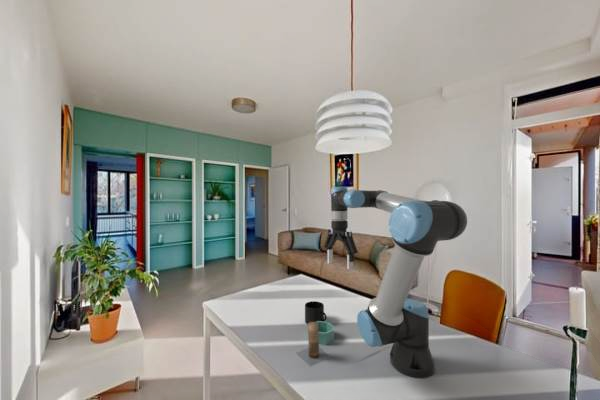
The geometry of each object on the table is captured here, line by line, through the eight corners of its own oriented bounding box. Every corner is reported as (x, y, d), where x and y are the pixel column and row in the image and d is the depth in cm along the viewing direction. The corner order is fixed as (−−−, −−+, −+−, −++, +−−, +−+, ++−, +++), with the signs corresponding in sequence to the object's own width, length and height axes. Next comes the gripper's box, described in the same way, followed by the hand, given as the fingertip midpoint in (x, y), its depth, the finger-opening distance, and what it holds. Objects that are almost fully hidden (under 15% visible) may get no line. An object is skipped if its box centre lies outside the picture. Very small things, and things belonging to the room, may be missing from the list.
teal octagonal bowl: (338, 341, 110) (338, 328, 110) (319, 349, 104) (319, 335, 104) (323, 331, 118) (323, 319, 118) (304, 337, 113) (304, 325, 113)
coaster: (331, 359, 97) (331, 356, 97) (310, 368, 92) (310, 366, 92) (315, 346, 106) (315, 344, 106) (295, 354, 100) (295, 352, 100)
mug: (320, 331, 118) (320, 311, 118) (301, 323, 126) (301, 305, 126) (331, 324, 125) (331, 305, 126) (312, 317, 133) (312, 299, 133)
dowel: (321, 355, 98) (320, 324, 98) (312, 359, 95) (312, 327, 96) (314, 351, 101) (314, 320, 101) (306, 354, 99) (306, 323, 99)
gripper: (365, 221, 109) (366, 270, 109) (328, 218, 130) (328, 259, 130) (353, 222, 105) (353, 273, 105) (316, 219, 126) (317, 261, 126)
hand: (339, 265), depth 118 cm, fingers open, 13 cm apart
